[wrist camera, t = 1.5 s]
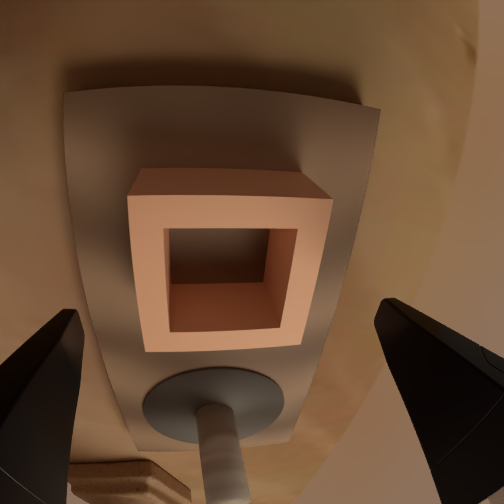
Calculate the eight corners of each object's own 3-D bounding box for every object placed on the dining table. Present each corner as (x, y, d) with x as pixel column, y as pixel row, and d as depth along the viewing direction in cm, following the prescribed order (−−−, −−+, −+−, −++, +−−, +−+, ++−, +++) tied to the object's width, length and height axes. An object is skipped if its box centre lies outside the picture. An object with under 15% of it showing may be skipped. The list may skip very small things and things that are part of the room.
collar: (141, 168, 11) (127, 195, 8) (302, 172, 12) (333, 199, 10) (150, 302, 14) (145, 351, 11) (281, 299, 15) (300, 344, 12)
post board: (76, 91, 10) (-52, 116, 3) (362, 105, 13) (507, 149, 6) (138, 435, 22) (140, 524, 15) (284, 427, 24) (309, 509, 17)
